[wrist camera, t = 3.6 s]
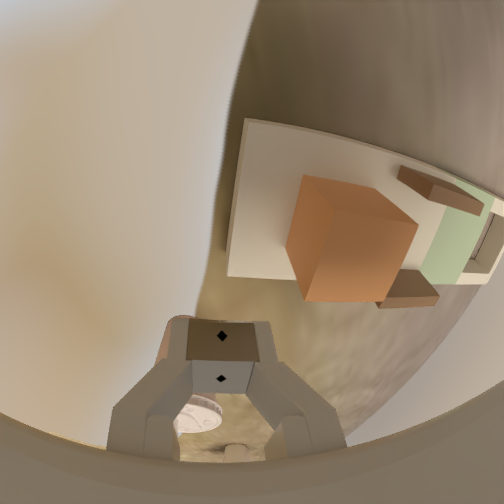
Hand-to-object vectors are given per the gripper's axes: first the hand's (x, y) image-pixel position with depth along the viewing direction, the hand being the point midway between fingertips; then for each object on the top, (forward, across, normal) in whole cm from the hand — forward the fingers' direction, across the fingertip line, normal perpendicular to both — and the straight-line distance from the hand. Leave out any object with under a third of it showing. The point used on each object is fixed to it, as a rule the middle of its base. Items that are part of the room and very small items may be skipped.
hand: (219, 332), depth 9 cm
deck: (+12, -16, -1) cm, 20 cm away
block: (+9, -7, -1) cm, 11 cm away
